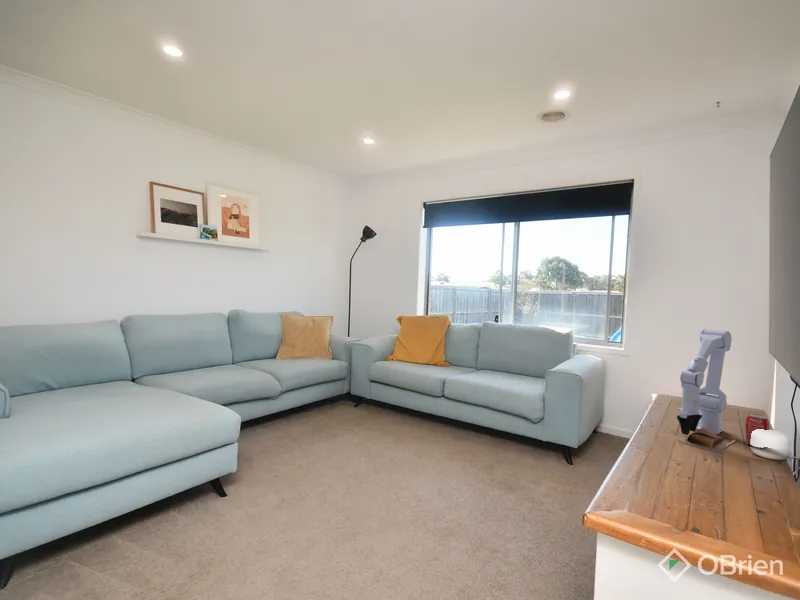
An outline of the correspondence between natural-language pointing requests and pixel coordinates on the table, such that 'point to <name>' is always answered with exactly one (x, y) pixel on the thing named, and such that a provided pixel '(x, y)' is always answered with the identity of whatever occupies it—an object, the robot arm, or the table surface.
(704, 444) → the sunglasses case
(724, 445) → the taped bay
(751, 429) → the soda can
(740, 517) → the table surface
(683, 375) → the robot arm
